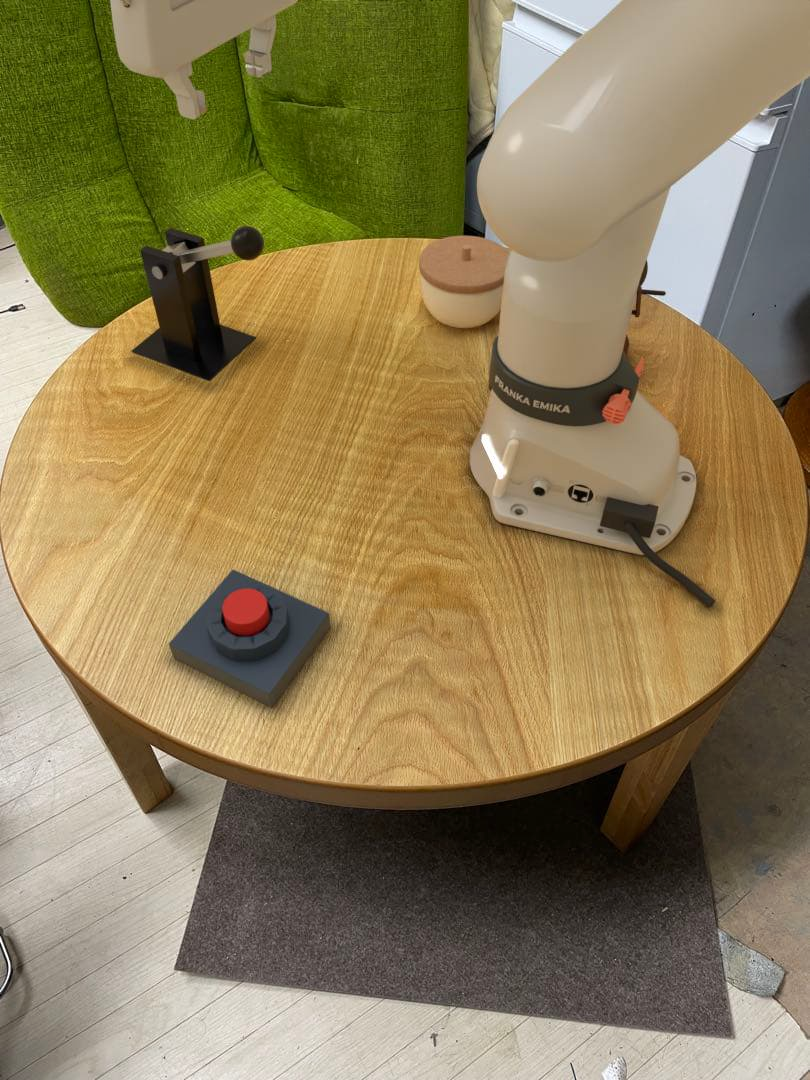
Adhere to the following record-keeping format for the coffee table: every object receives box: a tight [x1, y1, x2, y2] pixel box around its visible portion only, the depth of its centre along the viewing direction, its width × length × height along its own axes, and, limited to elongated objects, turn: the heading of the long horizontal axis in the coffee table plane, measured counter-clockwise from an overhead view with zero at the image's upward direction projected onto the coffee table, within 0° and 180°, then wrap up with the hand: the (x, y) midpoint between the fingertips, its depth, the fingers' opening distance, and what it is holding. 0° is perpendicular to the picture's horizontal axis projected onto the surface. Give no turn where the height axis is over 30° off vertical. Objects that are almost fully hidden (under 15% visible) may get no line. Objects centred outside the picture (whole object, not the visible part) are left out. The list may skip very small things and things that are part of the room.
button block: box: [168, 569, 331, 709], centre depth 72 cm, size 10×9×4 cm
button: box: [222, 589, 270, 636], centre depth 71 cm, size 4×4×2 cm
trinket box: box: [418, 235, 510, 329], centre depth 101 cm, size 11×11×9 cm
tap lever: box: [161, 225, 265, 273], centre depth 88 cm, size 14×3×3 cm, turn 61°
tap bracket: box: [130, 227, 257, 382], centre depth 95 cm, size 11×9×14 cm
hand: (227, 93), depth 74 cm, fingers open, 8 cm apart
